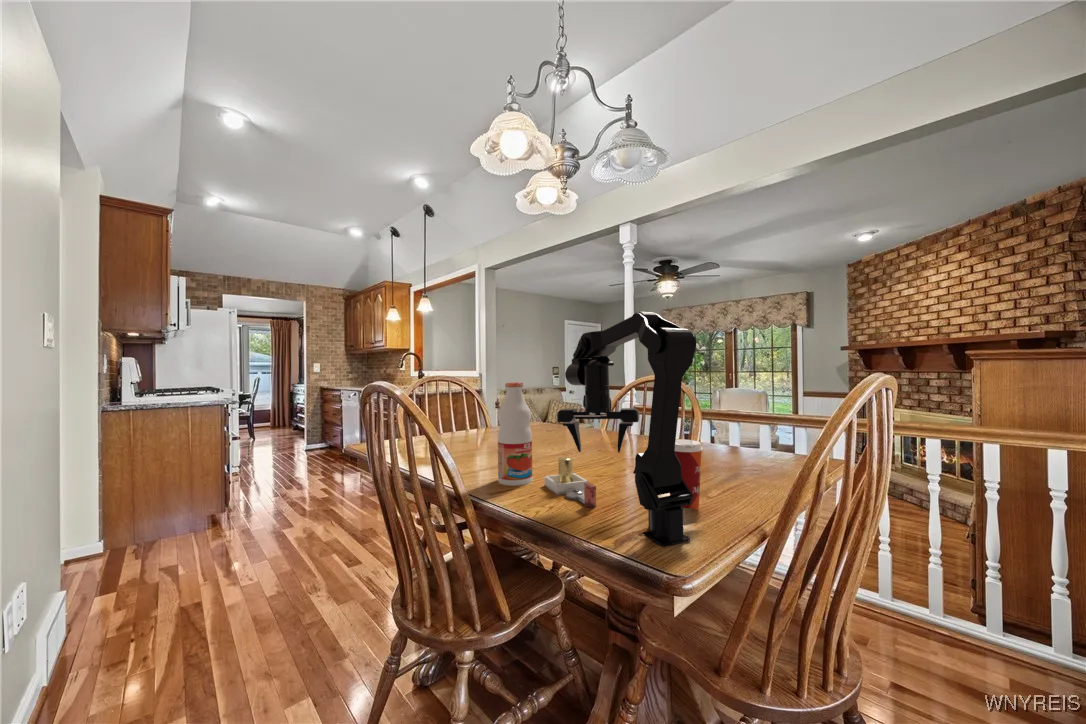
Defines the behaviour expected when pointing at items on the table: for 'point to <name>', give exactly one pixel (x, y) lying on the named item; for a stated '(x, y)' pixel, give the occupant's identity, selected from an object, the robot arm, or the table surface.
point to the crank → (584, 495)
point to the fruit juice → (514, 438)
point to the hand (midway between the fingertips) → (599, 452)
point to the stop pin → (565, 470)
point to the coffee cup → (690, 467)
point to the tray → (564, 484)
